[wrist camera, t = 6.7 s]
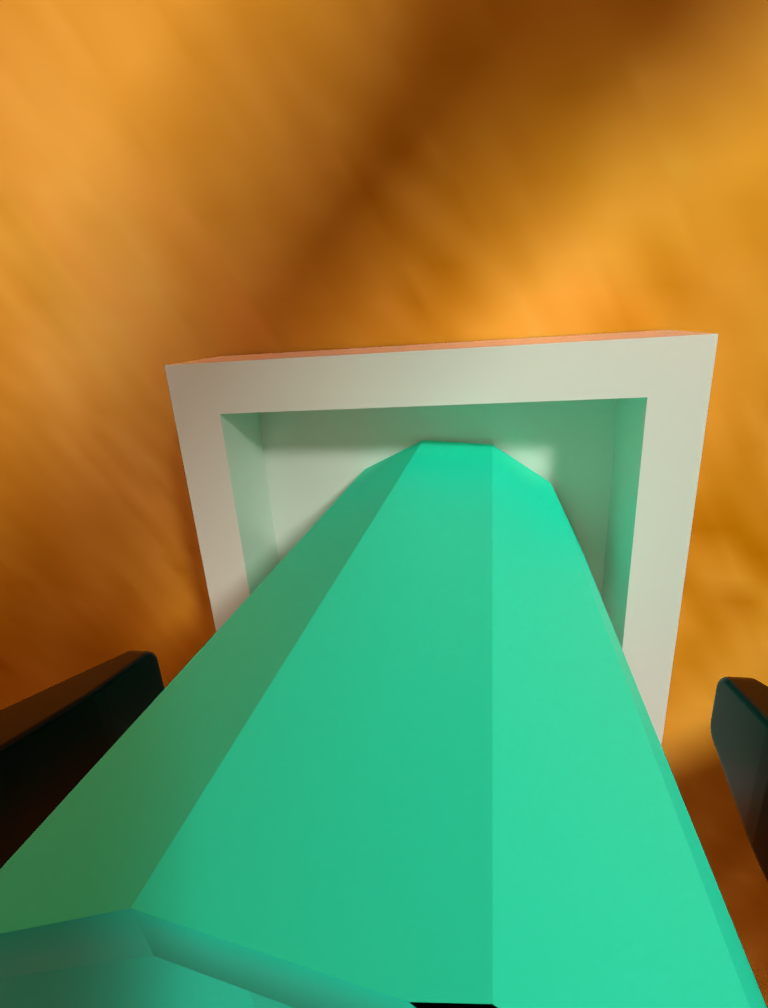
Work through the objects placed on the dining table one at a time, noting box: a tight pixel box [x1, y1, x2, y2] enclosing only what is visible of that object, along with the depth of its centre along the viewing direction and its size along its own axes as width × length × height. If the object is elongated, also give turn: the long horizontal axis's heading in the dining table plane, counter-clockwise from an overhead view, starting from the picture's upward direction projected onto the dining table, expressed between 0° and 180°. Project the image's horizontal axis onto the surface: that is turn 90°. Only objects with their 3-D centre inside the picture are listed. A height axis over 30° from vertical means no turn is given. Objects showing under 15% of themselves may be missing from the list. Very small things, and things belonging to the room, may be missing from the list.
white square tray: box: [164, 330, 718, 745], centre depth 12 cm, size 10×11×3 cm
